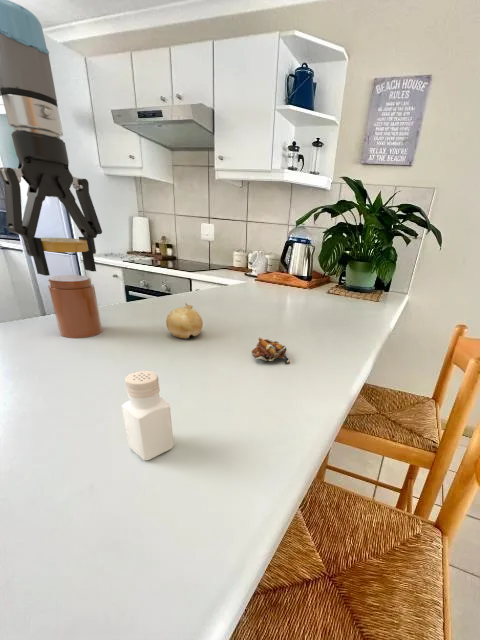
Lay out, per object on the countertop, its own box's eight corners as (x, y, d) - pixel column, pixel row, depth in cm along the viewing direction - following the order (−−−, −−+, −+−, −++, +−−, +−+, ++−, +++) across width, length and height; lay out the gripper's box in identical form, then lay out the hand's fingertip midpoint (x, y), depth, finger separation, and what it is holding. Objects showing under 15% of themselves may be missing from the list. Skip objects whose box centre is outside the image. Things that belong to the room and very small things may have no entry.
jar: (67, 326, 74) (54, 274, 68) (106, 326, 76) (96, 275, 70) (54, 338, 67) (39, 281, 61) (97, 337, 69) (86, 282, 64)
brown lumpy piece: (277, 343, 74) (278, 328, 73) (291, 364, 64) (293, 347, 63) (247, 343, 73) (247, 328, 71) (256, 365, 62) (257, 348, 61)
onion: (203, 341, 72) (202, 310, 69) (165, 341, 70) (162, 309, 67) (203, 330, 79) (202, 301, 75) (168, 330, 77) (166, 300, 74)
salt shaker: (158, 434, 41) (149, 366, 37) (176, 448, 39) (169, 377, 35) (127, 448, 38) (113, 376, 34) (144, 464, 36) (132, 389, 32)
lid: (98, 251, 65) (96, 241, 64) (54, 253, 58) (51, 242, 58) (71, 246, 69) (69, 237, 68) (26, 247, 62) (23, 237, 61)
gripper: (-31, 114, 45) (18, 280, 55) (109, 148, 62) (127, 270, 72) (-55, 117, 48) (-5, 274, 58) (85, 148, 65) (105, 266, 75)
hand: (68, 272), depth 65 cm, fingers closed on lid, 9 cm apart
